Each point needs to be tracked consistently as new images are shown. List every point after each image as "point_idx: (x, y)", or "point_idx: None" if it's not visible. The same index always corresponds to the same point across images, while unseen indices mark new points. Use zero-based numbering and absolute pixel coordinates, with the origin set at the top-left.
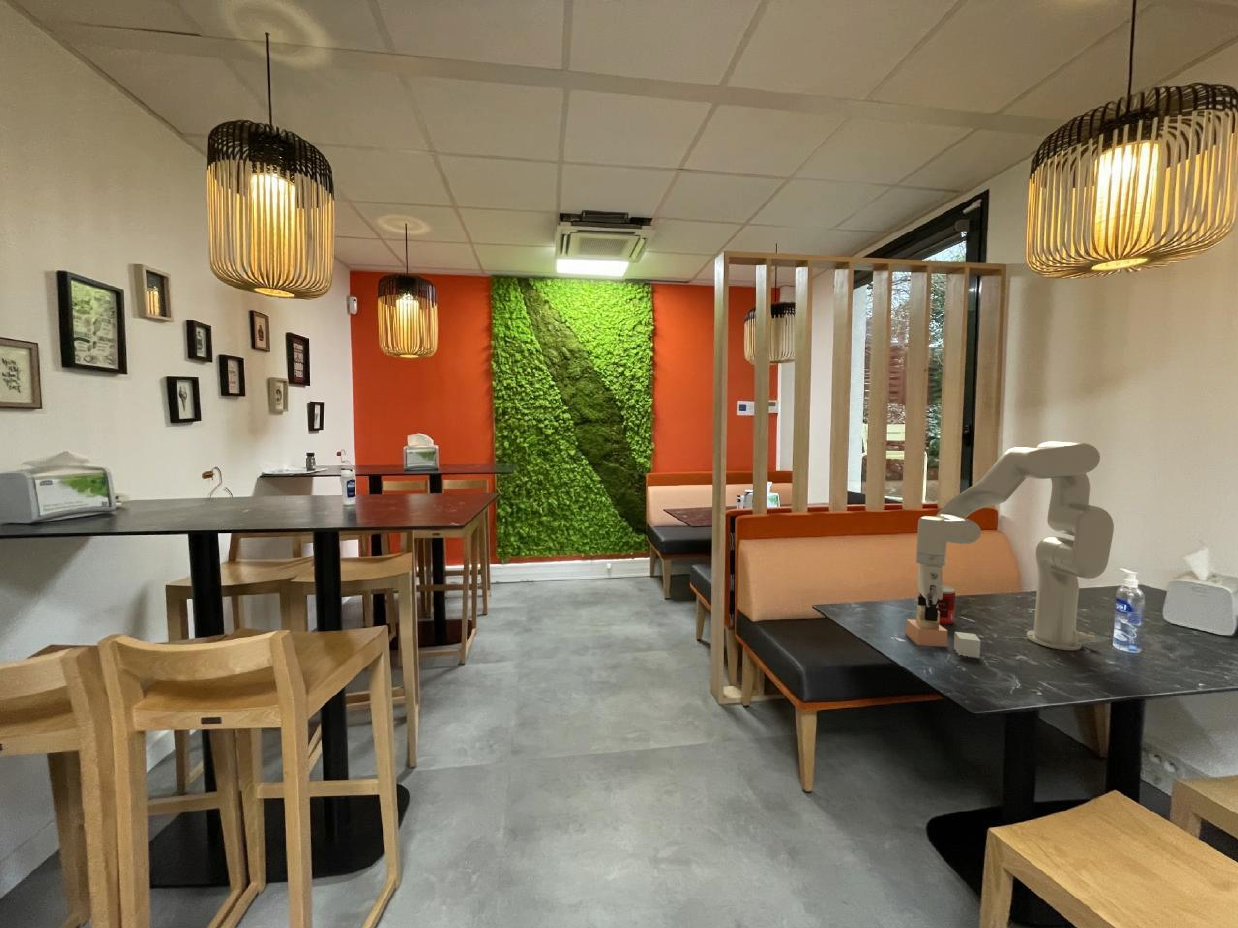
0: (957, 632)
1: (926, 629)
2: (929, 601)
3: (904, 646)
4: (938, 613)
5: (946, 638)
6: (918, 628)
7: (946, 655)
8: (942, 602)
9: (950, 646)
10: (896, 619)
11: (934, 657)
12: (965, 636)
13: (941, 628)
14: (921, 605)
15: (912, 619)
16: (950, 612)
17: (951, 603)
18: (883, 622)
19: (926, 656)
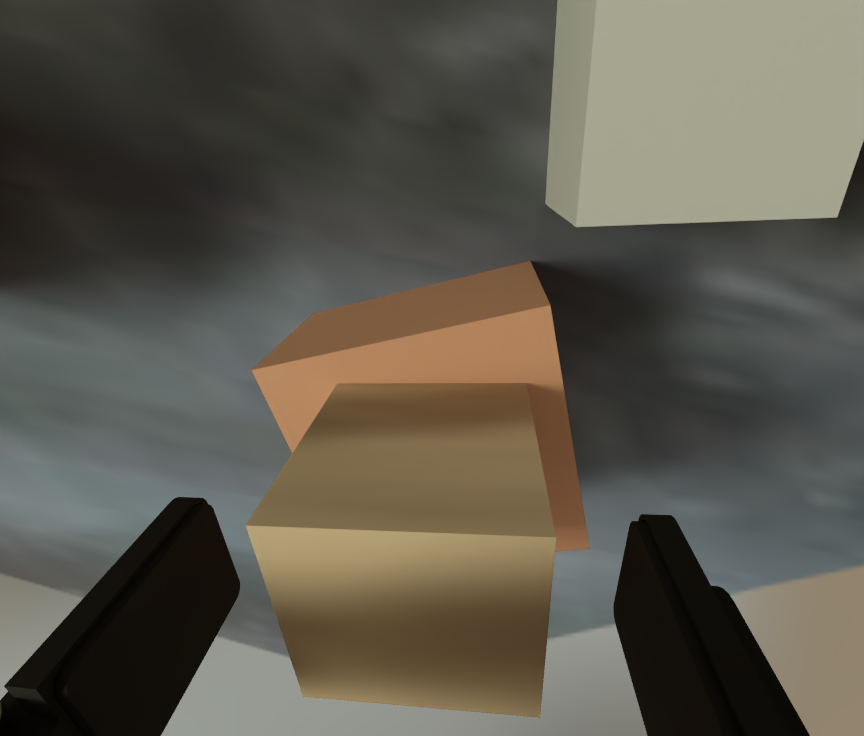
0: (597, 195)
1: (575, 490)
2: (123, 617)
3: (617, 524)
4: (548, 536)
5: (539, 283)
6: (568, 542)
7: (739, 300)
8: None
9: (515, 225)
10: (128, 483)
11: (793, 394)
12: (747, 110)
13: (490, 352)
14: (294, 663)
15: None
16: None
17: None
18: (238, 553)
19: (779, 439)
